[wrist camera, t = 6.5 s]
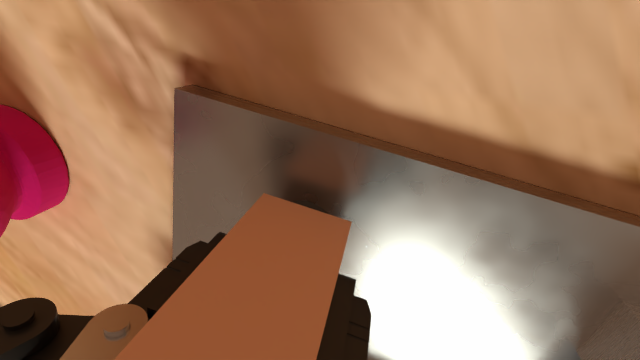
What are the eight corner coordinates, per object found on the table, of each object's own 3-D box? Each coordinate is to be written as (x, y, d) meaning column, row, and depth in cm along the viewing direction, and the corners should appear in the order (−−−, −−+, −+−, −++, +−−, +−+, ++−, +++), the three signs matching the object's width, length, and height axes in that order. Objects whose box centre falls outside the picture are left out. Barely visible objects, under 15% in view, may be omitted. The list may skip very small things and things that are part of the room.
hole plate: (775, 256, 11) (934, 346, 8) (534, 461, 18) (564, 552, 15) (192, 84, 13) (127, 97, 10) (183, 324, 20) (143, 376, 17)
